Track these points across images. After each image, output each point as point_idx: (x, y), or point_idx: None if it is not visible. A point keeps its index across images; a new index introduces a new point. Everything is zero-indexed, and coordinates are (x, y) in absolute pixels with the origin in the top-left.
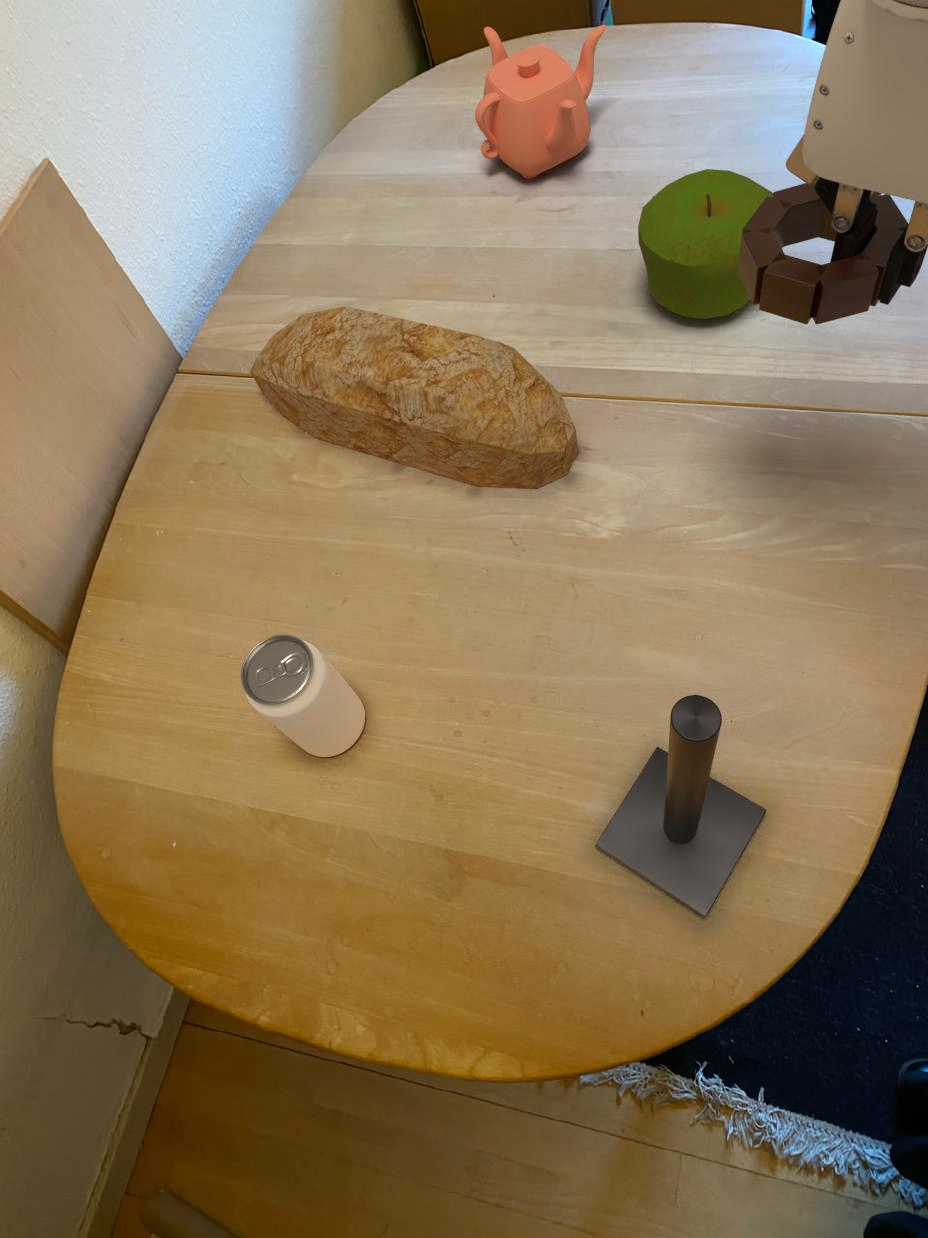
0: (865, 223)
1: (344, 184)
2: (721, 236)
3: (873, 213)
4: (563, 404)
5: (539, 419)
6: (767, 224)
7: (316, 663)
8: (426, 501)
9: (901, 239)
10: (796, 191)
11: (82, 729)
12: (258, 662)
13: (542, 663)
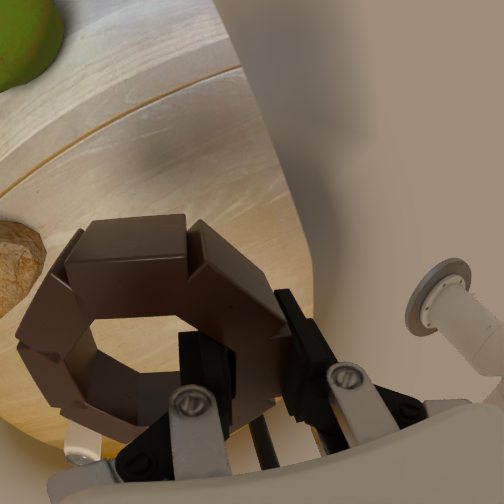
0: (227, 404)
1: None
2: (3, 51)
3: (228, 386)
4: (9, 245)
5: (10, 278)
6: (70, 397)
7: (87, 454)
8: (8, 312)
9: (301, 411)
10: (41, 325)
11: (33, 434)
12: (72, 460)
13: (134, 353)
